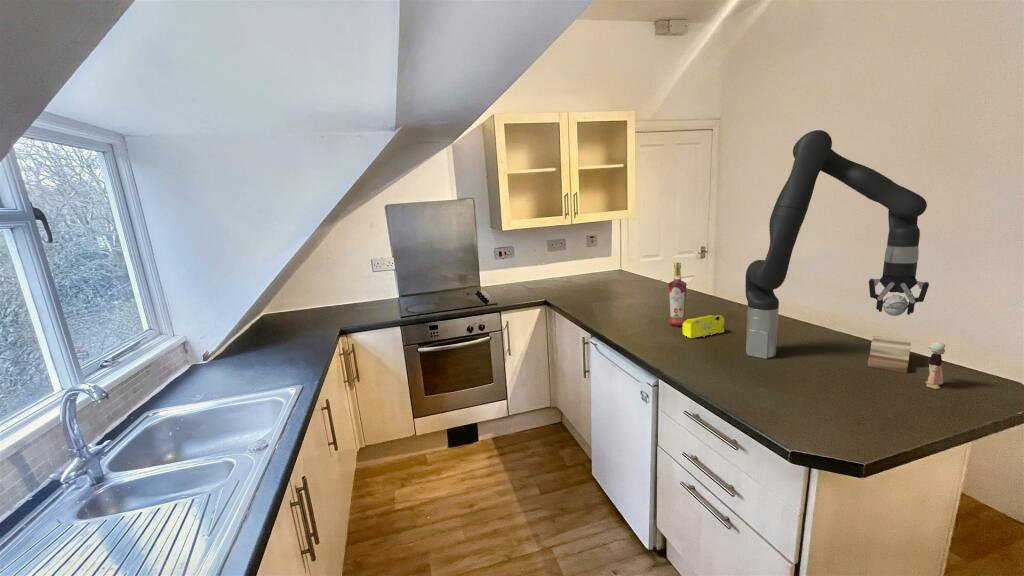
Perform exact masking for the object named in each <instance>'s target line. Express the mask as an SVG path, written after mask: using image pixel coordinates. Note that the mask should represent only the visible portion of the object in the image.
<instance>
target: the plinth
mask: <svg viewBox="0 0 1024 576" xmlns="http://www.w3.org/2000/svg"><path fill="white" fill-rule="evenodd" d="M911 345H912V340H909V339H908V340H907V339H900V338H894V337H884V336H878V335H874V336H873V337H872V340H871V343H870V351H869V356H868V360H867V367H869V368H874V369H881V370H885V371H891V372H897V373H903V374H908V373H907V372H908V367H909V360H910V353H911Z"/></svg>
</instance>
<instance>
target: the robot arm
mask: <svg viewBox="0 0 1024 576" xmlns="http://www.w3.org/2000/svg"><path fill="white" fill-rule="evenodd" d="M830 135H831V134H829V132H828V131H825V130H821V129H816V130H812V131H809V132H806V134H804V135H803V136H801V137H800V138H799V139H798V140H797V141H796V142H795V143H794V145H793V148H792V156H793V158H794V160H793V161H794V162H793V164H792V168H791V172H790V174H789V177H787V180H786V182H785V184H784V186H783V187H782V189H781V191H780V193H779V195H778V197H777V199H776V201H775V204H774V207H773V209H772V212H771V215H770V217H769V224H768V226H769V227H768V228H769V230H768V231H769V247H768V251H767V254H766V257H765V258H764V259H756V260H754V261H752V262H751V263H750V264H749V265H748V267H747V269H746V272H745V298H746V301H747V313H746V338H745V353H746V356H749V357H750V356H751V357H755V358H760V359H769V358H770V359H771V358H773V357H776V355H777V343H778V342H777V340H778V326H779V325H778V323H779V312H780V311H779V309H780V308H779V306H780V301H779V298H778V297H777V296H776V294H775V292H774V290H777V289H778V288H780V287H782V285H783V284H784V282H785V280H786V279H787V275H788V270H789V265H790V262H791V258H792V254H793V251H794V248H795V245H796V242H797V239H798V237H799V236H798V235H799V233H800V230H801V228H802V225H803V223H804V221H805V218H806V214H807V213H808V210H809V207H810V203H811V199H812V197H813V194H814V189H815V186H816V182H817V179H818V177H819V175H820V172H822V173H825V174H827V175H828V176H830V177H833V178H834V179H836V180H837V181H839V182H841V183H843V184H844V185H846V186H848V187H849V188H851V189H853V190H854V191H856V192H857V193H859V194H860V195H862V196H864V197H866V198H867V199H868V200H870V201H872V202H875V203H878V204H880V205H881V206H883V207H885V208H886V209H887V210H888V215H887V216H888V217H887V218H888V233H887V234H888V235H887V243H886V248H885V252H884V257H883V258H884V260H883V268H882V275H881V277H880V278H870V279H869V281H868V288H869V297H870V298H871V299H874V300H876V306H875V308H876V310H877V311H878V312H881V313H882V312H883V306H882V304H883V302H884V299H885V296H887V294H888V293H889V292H890V293H898V294H905V296H906V297H907V300H908V308H907V309H906V310H907V312H906V315H907V316H909V315H910V316H911V314H913V313H914V312H915V311H914V310H915V305H916V303H922V302H923V303H924V302H925V301H924V300H925V298H926V295H927V292H928V289H929V286H930V282H929V281H919V280H917V278H916V276H917V269H918V262H919V254H920V253H919V252H920V250H919V245H920V238H921V230H920V228H919V226H918V221H919V220H918V217H920V216H921V215H923V214H924V213H925V212H926V210H927V208H928V204H927V203H928V202H927V200H926V199H925V198H924V197H923V196H921V195H920V194H918V193H916V192H914V191H913V190H910V189H908V188H907V187H904V186H901V185H900V184H897V183H896V182H895V181H893V180H892V179H891V178H889V177H887V176H885V175H883V174H882V173H880V172H879V171H877V170H875V169H872V167H869V166H866V165H863V164H861V163H858V162H855V161H852V160H851V159H848V158H847V157H844V156H842V155H840V154H839V153H837V152H836V151H835V150H833V149H832V147H833V141H832V136H830ZM879 283H881V285H882V286H883V287H884V288H883V289H882V291H881V292H880V293H879V294H878V293H877V292H876V287H877V286H878V285H879ZM915 286H918V289H919V290H920V292H919V296H917V297H915V296H914V294H913V292H912V289H913V288H914V287H915Z"/></svg>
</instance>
